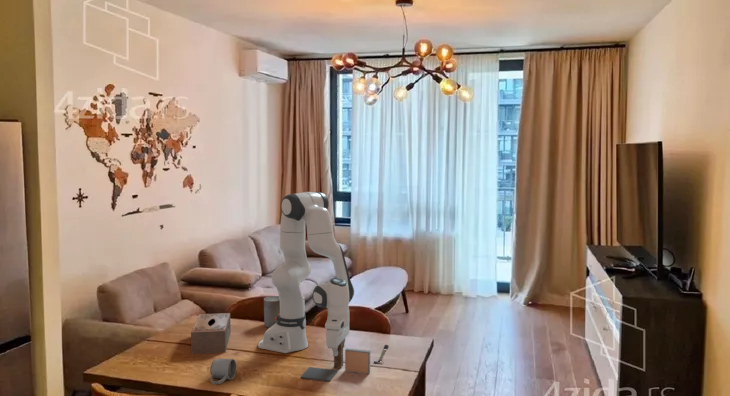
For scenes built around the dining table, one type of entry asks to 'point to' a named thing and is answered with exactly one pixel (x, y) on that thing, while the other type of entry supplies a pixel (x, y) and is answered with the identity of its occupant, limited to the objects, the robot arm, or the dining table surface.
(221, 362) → the ceramic mug
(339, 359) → the wooden block
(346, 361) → the tile
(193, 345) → the tissue box cover
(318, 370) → the mat
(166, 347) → the dining table surface
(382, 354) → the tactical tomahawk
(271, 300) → the pillar candle
